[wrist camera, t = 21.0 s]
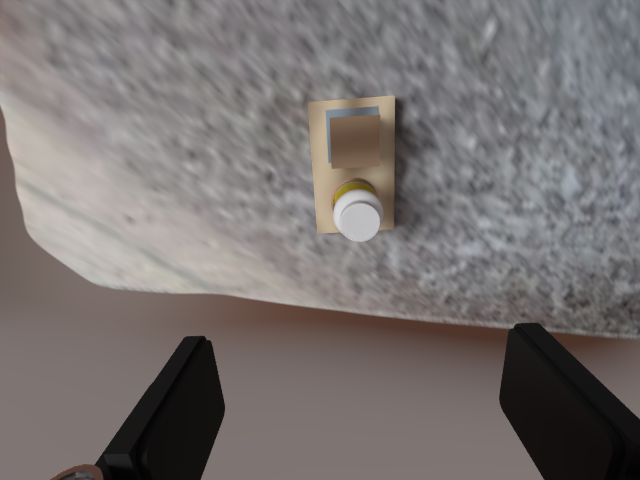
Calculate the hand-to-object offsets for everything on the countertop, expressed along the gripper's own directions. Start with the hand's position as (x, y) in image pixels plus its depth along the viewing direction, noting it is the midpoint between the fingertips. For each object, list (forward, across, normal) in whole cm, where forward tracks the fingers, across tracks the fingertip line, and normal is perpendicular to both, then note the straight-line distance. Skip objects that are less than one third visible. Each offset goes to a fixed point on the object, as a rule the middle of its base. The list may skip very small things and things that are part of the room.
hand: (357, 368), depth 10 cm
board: (+34, -2, -2) cm, 34 cm away
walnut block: (+32, -2, -6) cm, 33 cm away
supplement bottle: (+32, -2, +2) cm, 32 cm away
